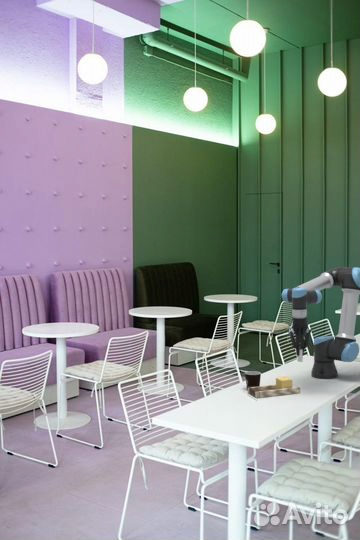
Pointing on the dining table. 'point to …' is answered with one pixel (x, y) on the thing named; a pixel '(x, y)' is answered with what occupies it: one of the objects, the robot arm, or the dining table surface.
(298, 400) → the dining table surface
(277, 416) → the dining table surface
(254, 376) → the coffee mug
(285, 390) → the brown checkered tray
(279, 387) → the mustard block
